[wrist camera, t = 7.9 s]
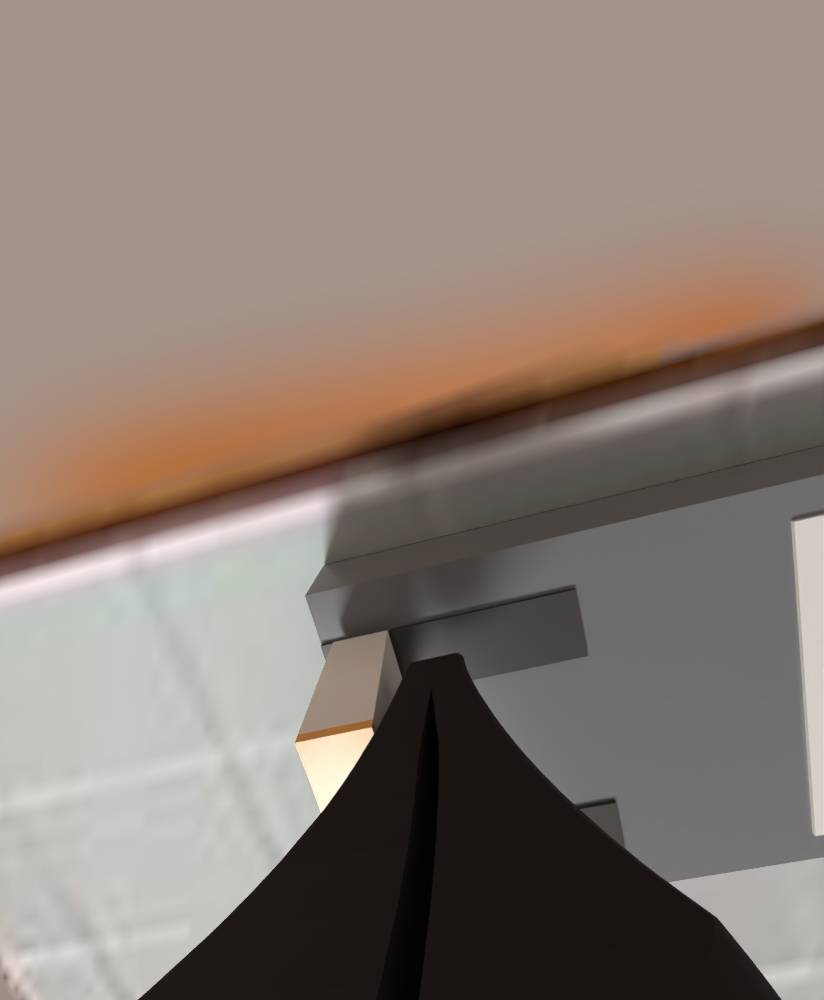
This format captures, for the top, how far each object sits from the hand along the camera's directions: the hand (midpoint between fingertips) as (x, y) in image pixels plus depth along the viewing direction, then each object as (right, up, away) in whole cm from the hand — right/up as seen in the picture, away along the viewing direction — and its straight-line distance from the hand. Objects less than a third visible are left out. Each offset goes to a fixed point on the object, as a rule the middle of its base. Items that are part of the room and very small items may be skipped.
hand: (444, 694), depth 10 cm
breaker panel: (+6, -1, +4) cm, 7 cm away
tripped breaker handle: (-2, 0, +2) cm, 2 cm away
